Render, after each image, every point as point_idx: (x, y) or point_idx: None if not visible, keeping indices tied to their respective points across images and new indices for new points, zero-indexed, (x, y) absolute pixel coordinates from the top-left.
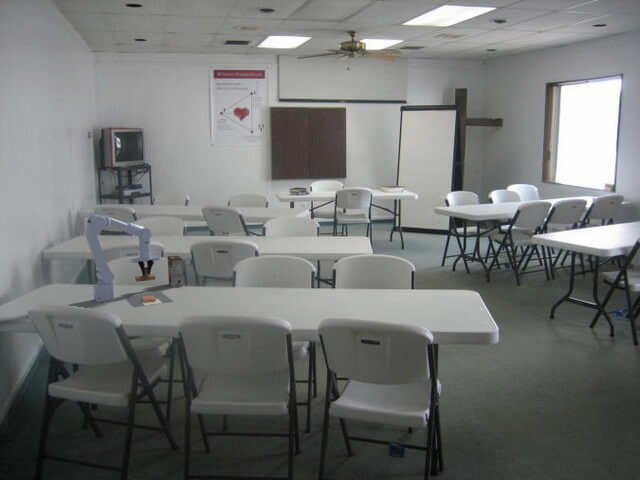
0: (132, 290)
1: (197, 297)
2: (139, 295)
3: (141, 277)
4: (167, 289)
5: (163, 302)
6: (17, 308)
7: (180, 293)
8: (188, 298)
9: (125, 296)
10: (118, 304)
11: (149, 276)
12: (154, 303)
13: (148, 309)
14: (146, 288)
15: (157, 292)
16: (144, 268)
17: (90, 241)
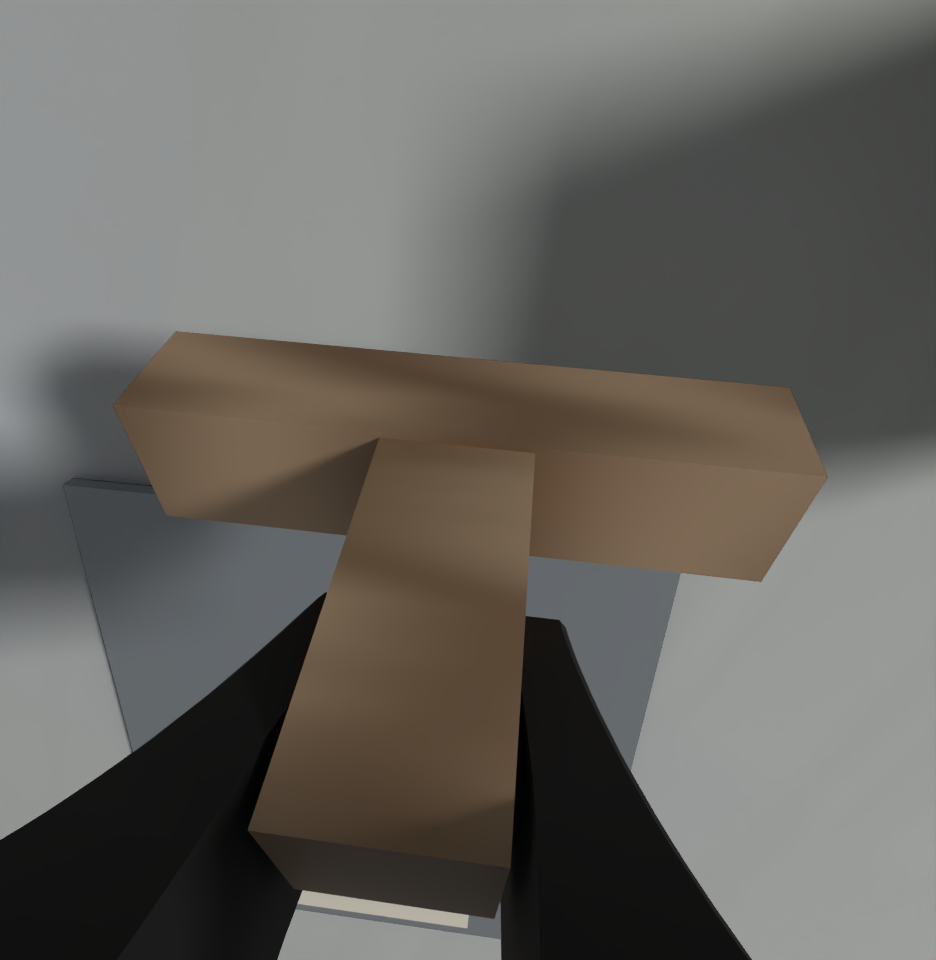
0: (284, 56)
1: (911, 945)
2: (311, 559)
3: (318, 515)
4: (911, 416)
5: (479, 924)
6: None
7: (890, 732)
8: (803, 922)
9: (103, 494)
10: (24, 708)
11: (585, 536)
12: (384, 905)
13: (293, 956)
14: (615, 53)
15: None
16: (315, 869)
17: None
